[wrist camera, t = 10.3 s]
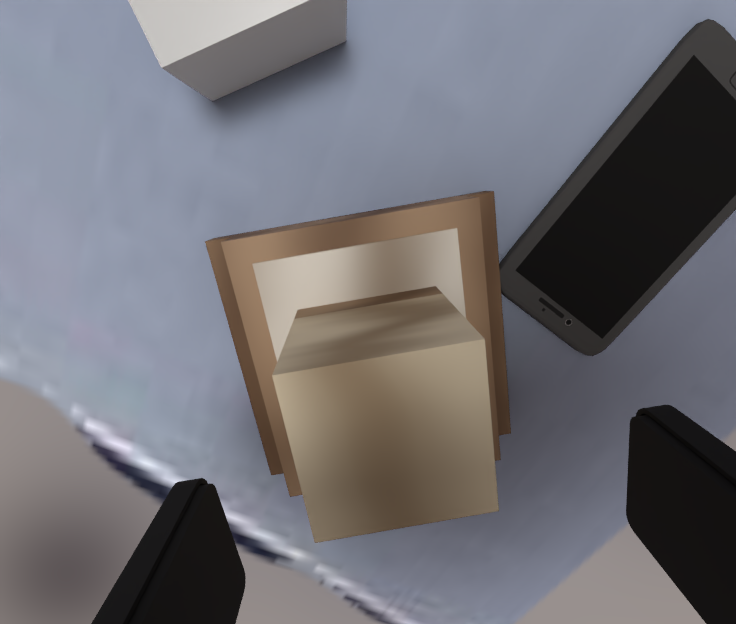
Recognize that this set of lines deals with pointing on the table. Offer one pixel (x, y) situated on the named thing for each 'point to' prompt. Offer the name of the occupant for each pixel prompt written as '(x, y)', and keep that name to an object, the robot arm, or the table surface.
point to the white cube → (237, 38)
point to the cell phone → (635, 200)
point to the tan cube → (387, 413)
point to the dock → (358, 289)
